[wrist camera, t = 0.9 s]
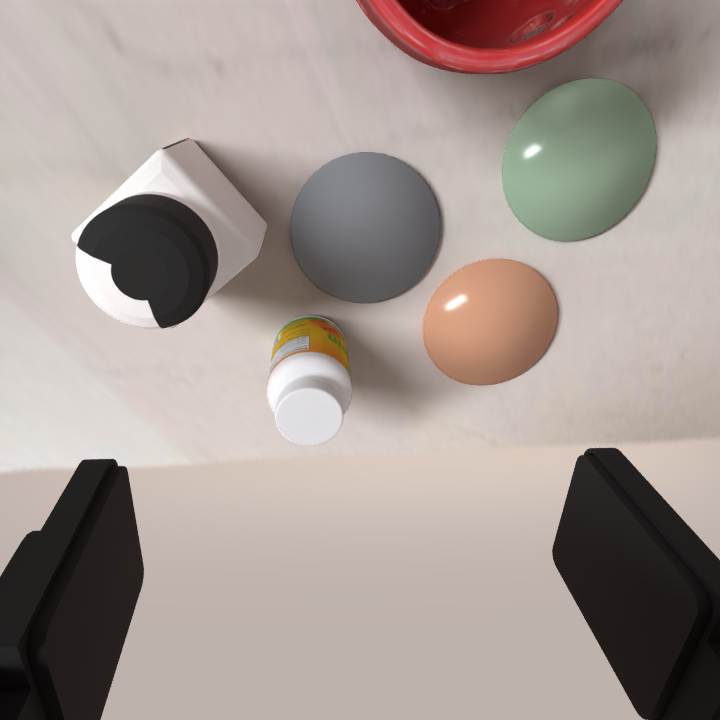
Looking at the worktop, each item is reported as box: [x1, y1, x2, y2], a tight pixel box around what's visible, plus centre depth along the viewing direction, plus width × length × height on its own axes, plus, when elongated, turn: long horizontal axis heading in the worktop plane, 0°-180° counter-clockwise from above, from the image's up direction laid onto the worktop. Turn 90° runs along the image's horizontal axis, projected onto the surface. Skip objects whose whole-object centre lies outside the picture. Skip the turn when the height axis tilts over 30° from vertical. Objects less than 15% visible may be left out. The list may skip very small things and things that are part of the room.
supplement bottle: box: [267, 315, 352, 446], centre depth 36 cm, size 5×5×10 cm
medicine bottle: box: [72, 138, 267, 329], centre depth 30 cm, size 7×7×12 cm
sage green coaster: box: [502, 78, 656, 241], centre depth 36 cm, size 10×10×1 cm
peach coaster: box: [423, 259, 558, 385], centre depth 40 cm, size 10×10×1 cm
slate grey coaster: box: [291, 152, 440, 303], centre depth 37 cm, size 10×10×1 cm
